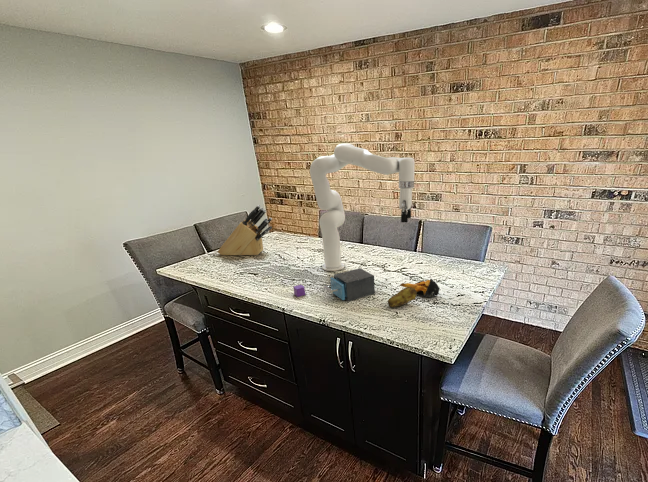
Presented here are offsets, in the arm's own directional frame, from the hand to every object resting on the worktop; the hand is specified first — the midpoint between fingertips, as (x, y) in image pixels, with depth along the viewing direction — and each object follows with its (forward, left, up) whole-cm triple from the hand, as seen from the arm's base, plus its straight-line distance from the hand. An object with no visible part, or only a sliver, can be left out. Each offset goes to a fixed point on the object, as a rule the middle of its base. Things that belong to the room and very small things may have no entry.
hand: (406, 220), depth 169 cm
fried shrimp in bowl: (+23, -9, -30) cm, 39 cm away
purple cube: (-11, -55, -30) cm, 64 cm away
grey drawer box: (+3, -33, -30) cm, 45 cm away
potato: (+27, -23, -30) cm, 47 cm away
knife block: (-94, -58, -30) cm, 114 cm away
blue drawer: (+3, -39, -29) cm, 48 cm away
